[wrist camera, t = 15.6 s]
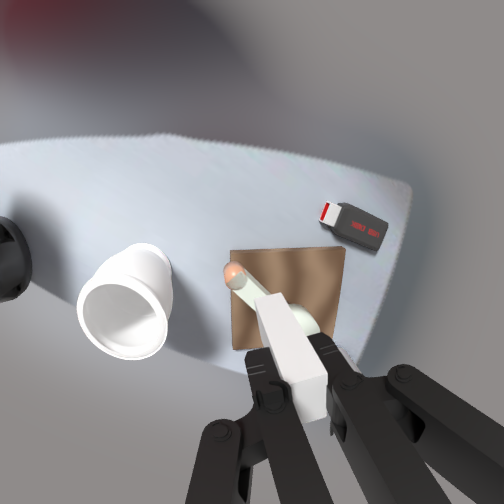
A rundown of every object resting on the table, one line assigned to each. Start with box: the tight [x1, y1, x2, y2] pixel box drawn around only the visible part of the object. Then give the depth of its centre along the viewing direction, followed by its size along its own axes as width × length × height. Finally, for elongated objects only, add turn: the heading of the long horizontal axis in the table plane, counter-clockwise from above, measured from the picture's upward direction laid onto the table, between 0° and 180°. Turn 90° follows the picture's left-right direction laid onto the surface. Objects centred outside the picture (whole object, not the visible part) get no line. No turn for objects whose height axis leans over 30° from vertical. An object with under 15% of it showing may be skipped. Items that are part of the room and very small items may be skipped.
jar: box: [77, 243, 173, 360], centre depth 33 cm, size 11×10×15 cm
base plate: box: [230, 246, 346, 350], centre depth 45 cm, size 18×17×2 cm
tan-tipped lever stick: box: [223, 261, 320, 336], centre depth 36 cm, size 16×6×4 cm, turn 42°
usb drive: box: [319, 201, 388, 251], centre depth 42 cm, size 5×12×3 cm, turn 69°
